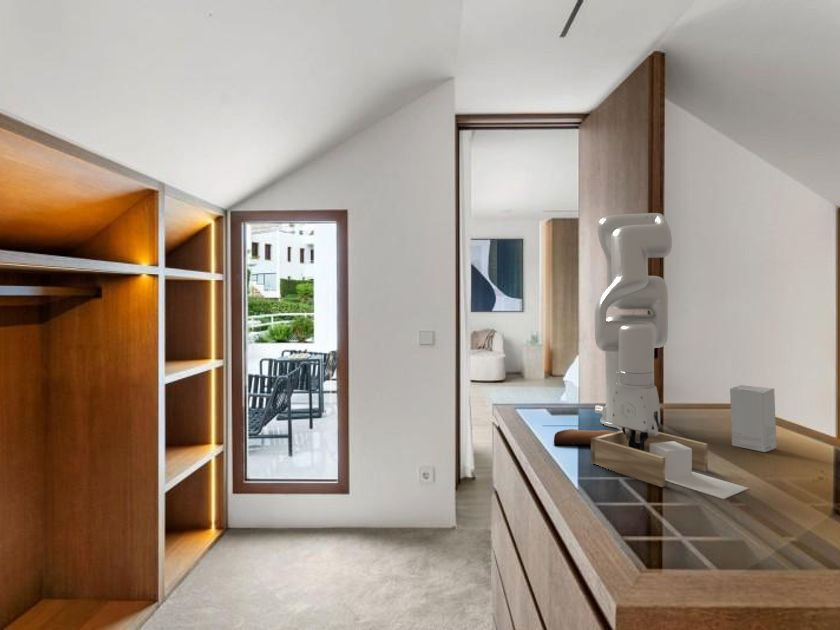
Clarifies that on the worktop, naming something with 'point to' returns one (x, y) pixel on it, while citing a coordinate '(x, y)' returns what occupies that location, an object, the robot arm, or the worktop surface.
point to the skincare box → (753, 418)
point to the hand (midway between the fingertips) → (636, 457)
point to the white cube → (674, 458)
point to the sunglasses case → (577, 436)
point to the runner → (708, 485)
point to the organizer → (642, 456)
